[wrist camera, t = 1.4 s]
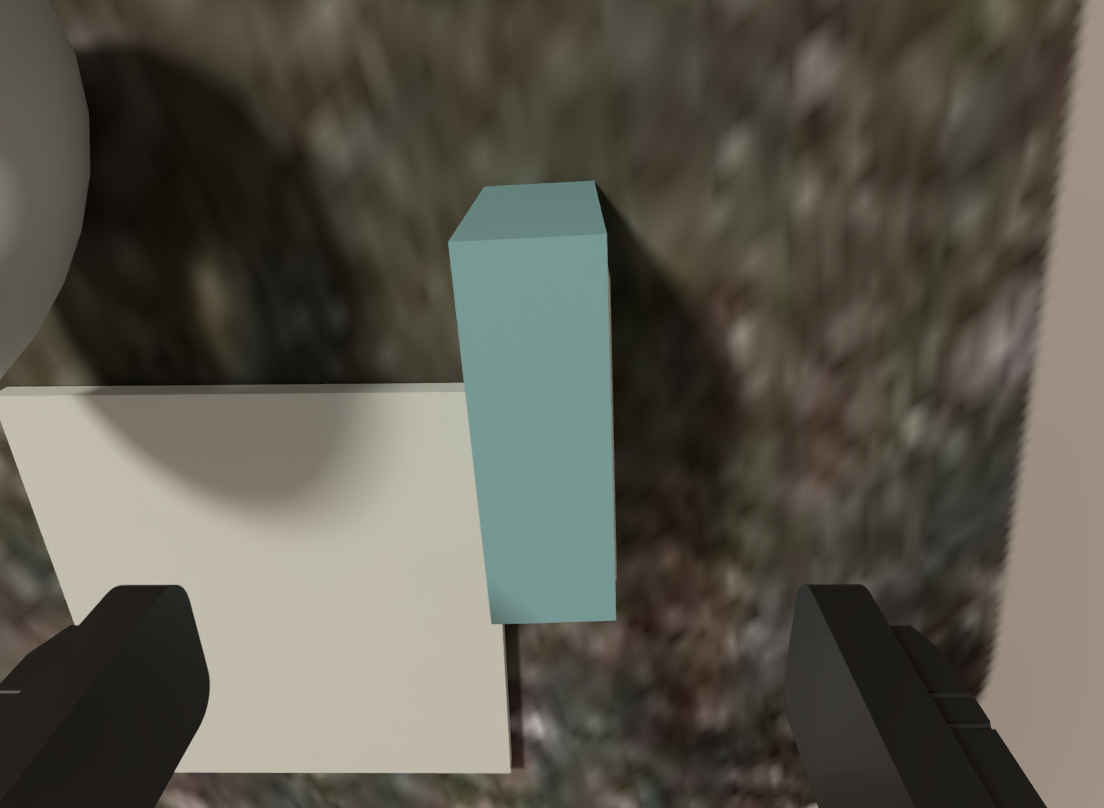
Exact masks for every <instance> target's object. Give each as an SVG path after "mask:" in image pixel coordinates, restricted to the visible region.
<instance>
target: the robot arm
mask: <svg viewBox="0 0 1104 808" xmlns="http://www.w3.org/2000/svg"><path fill="white" fill-rule="evenodd" d="M209 693H210V677H209V671H208V667H207V664H206V660H205V656H204V652H203V649H202V645H201V641H200V637H199V633H198V630H197V626H196V622H195V618H194V614H193V611H192V607H191V603H190V600H189V597H188V594H187V592H186V591H185V589H184V588H183V587H181V586H180V585H118V586H116V587H114V588H112V589H111V590H110V591H109V592H108V593H107V594H106V595H105V596H104V597H103V598H102V599H101V601H100V602H99V603H98V604H97V605H96V606H95V607H94V609H93V610H92V611H91V612H90V613H89V614H88V615H87V616H86V618H85V619H84V620H83V621H82V622H81V623H80V624H79V625H70V626H69V627H67V628H66V629H64V630H63V631H61V632H60V633H58V634H57V635H55V636H54V637H52V638H51V639H49V640H48V641H46V642H45V643H43V644H42V645H40V646H39V647H37V648H36V649H35V650H33V651H32V652H30V653H29V654H27V655H26V656H25V657H24V659H23V660H22V661H21V662H20V663H19V664H18V665H17V666H16V667H15V668H14V669H13V670H12V671H11V673H10V674H9V675H8V676H7V677H6V678H5V679H4V680H3V681H2V682H1V683H0V808H154V807H155V806H156V804H157V802H158V800H159V798H160V797H161V795H162V793H163V791H164V789H165V788H166V786H167V784H168V782H169V781H170V779H171V777H172V775H173V773H174V772H175V770H176V768H177V766H178V764H179V763H180V761H181V759H182V757H183V756H184V754H185V752H186V750H187V748H188V747H189V745H190V743H191V741H192V739H193V738H194V736H195V734H196V732H197V731H198V729H199V727H200V725H201V723H202V721H203V718H204V716H205V713H206V709H207V705H208V701H209ZM785 701H786V709H787V714H788V719H789V723H790V727H791V730H792V733H793V736H794V739H795V741H796V744H797V747H798V750H799V753H800V756H801V759H802V762H803V765H804V767H805V770H806V773H807V776H808V779H809V782H810V785H811V788H812V791H813V793H814V796H815V799H816V802H817V805H818V808H1047V807H1046V805H1045V804H1044V802H1043V801H1042V799H1041V798H1040V796H1039V795H1038V793H1037V792H1036V790H1035V789H1034V787H1033V786H1032V784H1031V783H1030V781H1029V780H1028V778H1027V777H1026V775H1025V774H1024V772H1023V771H1022V769H1021V768H1020V766H1019V764H1018V763H1017V761H1016V760H1015V758H1014V757H1013V755H1012V754H1011V752H1010V751H1009V749H1008V748H1007V746H1006V745H1005V743H1004V742H1003V740H1002V739H1001V737H1000V736H999V734H998V733H997V731H996V730H995V729H991V726H990V720H989V719H988V718H987V716H986V714H985V713H984V711H983V710H982V708H981V707H980V705H979V704H978V702H977V701H976V699H975V698H971V695H970V690H969V688H968V687H967V685H966V684H965V682H964V681H963V679H962V678H961V676H960V675H959V673H958V672H957V670H956V669H955V667H954V666H953V664H952V663H951V661H950V660H949V658H948V656H947V655H946V654H944V653H943V652H942V651H941V650H939V649H938V648H937V647H936V646H935V645H933V644H932V643H931V642H930V641H928V640H927V639H926V638H925V637H924V636H922V635H921V634H920V633H919V632H917V631H916V630H915V629H914V628H913V627H911V626H889V624H888V623H887V621H886V619H885V617H884V616H883V614H882V612H881V611H880V609H879V607H878V606H877V604H876V602H875V600H874V599H873V597H872V595H871V594H870V592H869V591H868V589H867V588H866V587H865V586H863V585H859V584H851V585H802V586H801V587H800V588H799V590H798V593H797V597H796V603H795V609H794V616H793V623H792V630H791V637H790V644H789V651H788V658H787V665H786V671H785Z"/></svg>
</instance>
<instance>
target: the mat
mask: <svg viewBox="0 0 1104 808" xmlns="http://www.w3.org/2000/svg"><path fill="white" fill-rule="evenodd" d="M0 421H1V423H2V426H3V429H4V431H5V434H6V437H7V440H8V442H9V445H10V448H11V451H12V453H13V456H14V459H15V462H16V464H17V467H18V470H19V473H20V475H21V478H22V481H23V484H24V486H25V489H26V492H27V495H28V497H29V500H30V503H31V506H32V508H33V511H34V514H35V517H36V519H37V522H38V525H39V528H40V530H41V533H42V536H43V539H44V541H45V544H46V547H47V550H48V552H49V555H50V558H51V561H52V563H53V566H54V569H55V572H56V574H57V577H58V580H59V582H60V585H61V588H62V591H63V593H64V596H65V599H66V602H67V604H68V607H69V610H70V613H71V615H72V618H73V621H74V624H75V625H79V624H80V623H81V622H82V621H83V620H84V619H85V618H86V616H87V615H88V614H89V613H90V612H91V611H92V610H93V609H94V607H95V606H96V605H97V604H98V603H99V602H100V601H101V599H102V598H103V597H104V596H105V595H106V594H107V593H108V592H109V591H110V590H111V589H112V588H114V587H116V586H118V585H180V586H181V587H183V588H184V589H185V591H186V592H187V594H188V597H189V600H190V603H191V607H192V611H193V614H194V618H195V622H196V626H197V630H198V633H199V637H200V641H201V645H202V649H203V652H204V656H205V660H206V664H207V667H208V671H209V677H210V693H209V701H208V705H207V709H206V713H205V716H204V718H203V721H202V723H201V725H200V727H199V729H198V731H197V732H196V734H195V736H194V738H193V739H192V741H191V743H190V745H189V747H188V748H187V750H186V752H185V754H184V756H183V757H182V759H181V761H180V763H179V764H178V766H177V768H176V770H175V772H245V773H511V763H512V751H511V732H510V714H509V696H508V678H507V660H506V642H505V624H491V616H490V607H489V598H488V590H487V581H486V572H485V563H484V554H483V545H482V537H481V528H480V519H479V510H478V501H477V492H476V484H475V475H474V466H473V457H472V448H471V440H470V431H469V422H468V413H467V404H466V395H465V387H464V383H395V384H282V385H169V386H56V387H6V388H5V389H3V390H1V391H0Z"/></svg>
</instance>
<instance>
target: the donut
mask: <svg viewBox="0 0 1104 808" xmlns="http://www.w3.org/2000/svg"><path fill="white" fill-rule="evenodd" d="M89 179H90V135H89V111H88V106H87V102H86V98H85V93H84V89H83V84H82V80H81V76H80V71H79V67H78V62H77V58H76V54H75V52H74V50H73V48H72V46H71V44H70V42H69V40H68V38H67V36H66V34H65V32H64V30H63V28H62V26H61V24H60V22H59V20H58V18H57V16H56V14H55V12H54V10H53V8H52V6H51V4H50V2H49V0H0V379H1V378H2V377H3V375H4V374H5V373H6V372H7V370H8V369H9V368H10V367H11V366H12V364H13V363H14V362H15V361H16V359H17V358H18V357H19V356H20V354H21V353H22V352H23V351H24V350H25V348H26V347H27V346H28V345H29V343H30V342H31V341H32V340H33V338H34V337H35V336H36V334H37V333H38V331H39V329H40V327H41V325H42V323H43V321H44V319H45V318H46V316H47V314H48V312H49V310H50V308H51V306H52V305H53V303H54V301H55V299H56V297H57V295H58V293H59V292H60V290H61V288H62V286H63V284H64V282H65V279H66V276H67V273H68V270H69V267H70V264H71V261H72V258H73V255H74V252H75V249H76V246H77V243H78V240H79V237H80V234H81V231H82V225H83V218H84V212H85V205H86V199H87V192H88V185H89Z"/></svg>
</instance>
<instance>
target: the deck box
mask: <svg viewBox="0 0 1104 808" xmlns="http://www.w3.org/2000/svg"><path fill="white" fill-rule="evenodd" d="M448 245H449V254H450V263H451V272H452V281H453V289H454V298H455V307H456V316H457V325H458V334H459V342H460V351H461V360H462V369H463V378H464V387H465V395H466V404H467V413H468V422H469V431H470V440H471V448H472V457H473V466H474V475H475V484H476V492H477V501H478V510H479V519H480V528H481V537H482V545H483V554H484V563H485V572H486V581H487V590H488V598H489V607H490V616H491V624H521V623H553V622H585V621H616V594H615V580H617V561H616V517H615V473H614V429H613V384H612V340H611V296H610V274H609V269H608V258H607V232H606V228H605V224H604V220H603V216H602V211H601V207H600V203H599V199H598V195H597V191H596V187H595V182H594V181H582V182H564V183H545V184H527V185H508V186H490V187H484V188H483V189H482V191H481V192H480V194H479V196H478V197H477V199H476V200H475V202H474V203H473V205H472V206H471V208H470V209H469V211H468V212H467V214H466V216H465V217H464V219H463V220H462V222H461V223H460V225H459V226H458V228H457V229H456V231H455V232H454V234H453V235H452V237H451V239H450V240H449V242H448Z"/></svg>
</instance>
